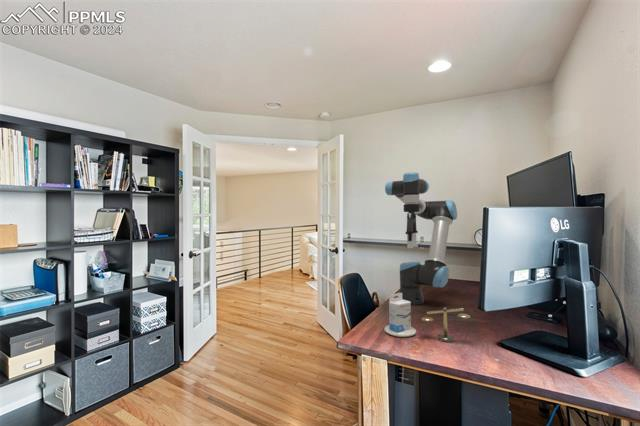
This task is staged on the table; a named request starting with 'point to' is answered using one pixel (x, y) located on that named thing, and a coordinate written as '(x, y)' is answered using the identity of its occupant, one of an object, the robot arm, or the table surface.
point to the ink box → (399, 313)
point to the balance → (445, 322)
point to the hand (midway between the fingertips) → (412, 246)
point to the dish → (401, 334)
